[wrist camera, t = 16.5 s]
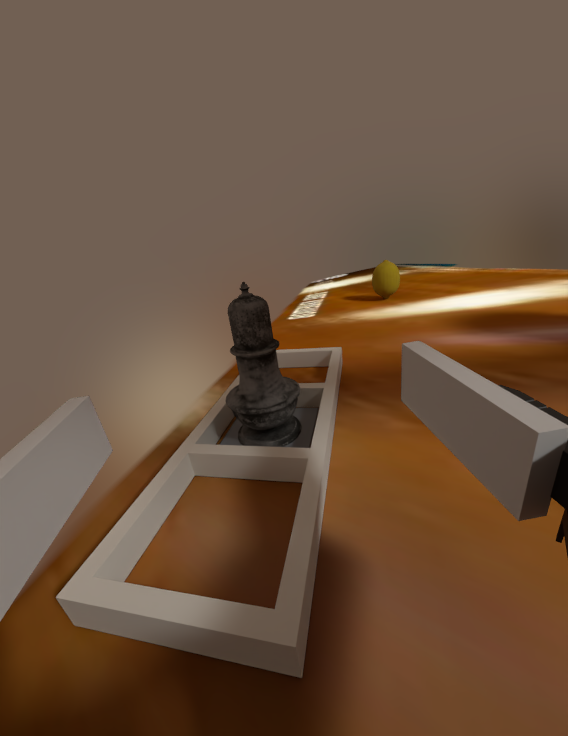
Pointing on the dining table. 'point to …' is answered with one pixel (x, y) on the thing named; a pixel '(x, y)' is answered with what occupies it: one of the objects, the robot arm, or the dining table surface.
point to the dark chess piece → (260, 377)
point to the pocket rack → (149, 511)
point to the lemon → (386, 279)
